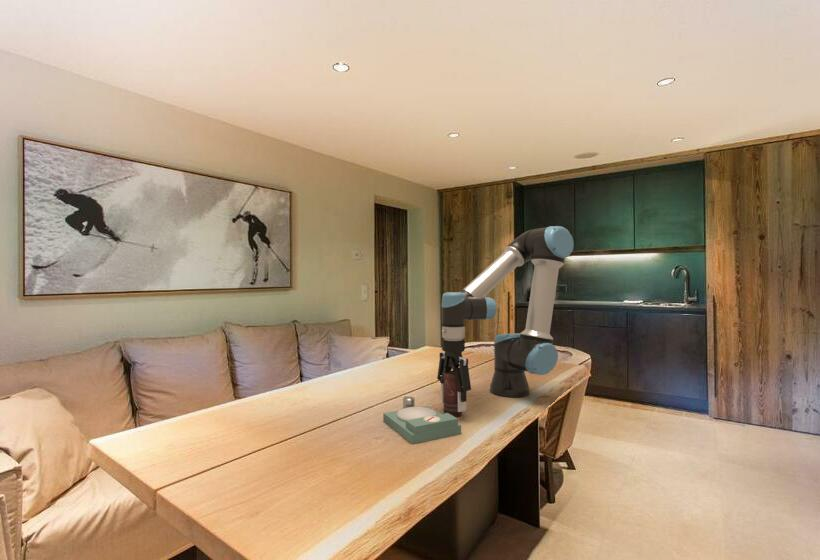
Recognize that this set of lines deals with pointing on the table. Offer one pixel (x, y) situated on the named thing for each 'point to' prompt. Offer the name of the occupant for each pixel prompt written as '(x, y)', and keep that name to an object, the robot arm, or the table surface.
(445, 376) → the can
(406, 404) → the spacer
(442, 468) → the table surface
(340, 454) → the table surface
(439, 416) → the scale
